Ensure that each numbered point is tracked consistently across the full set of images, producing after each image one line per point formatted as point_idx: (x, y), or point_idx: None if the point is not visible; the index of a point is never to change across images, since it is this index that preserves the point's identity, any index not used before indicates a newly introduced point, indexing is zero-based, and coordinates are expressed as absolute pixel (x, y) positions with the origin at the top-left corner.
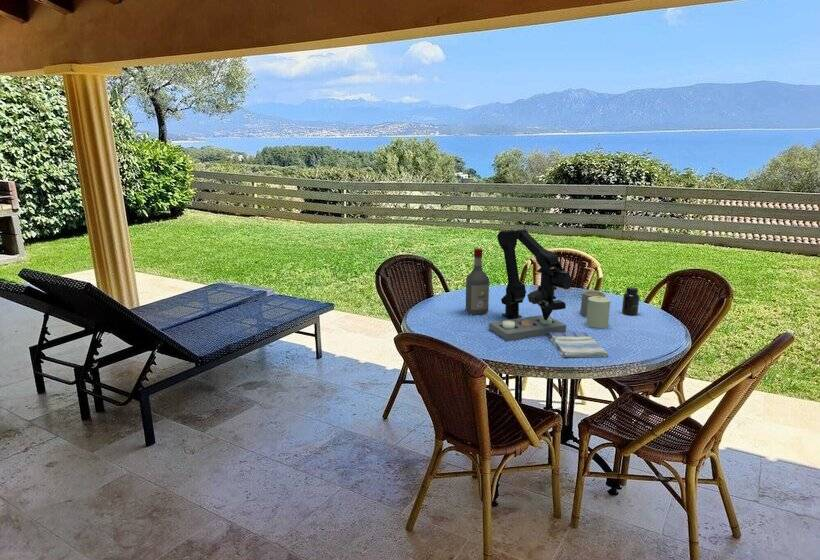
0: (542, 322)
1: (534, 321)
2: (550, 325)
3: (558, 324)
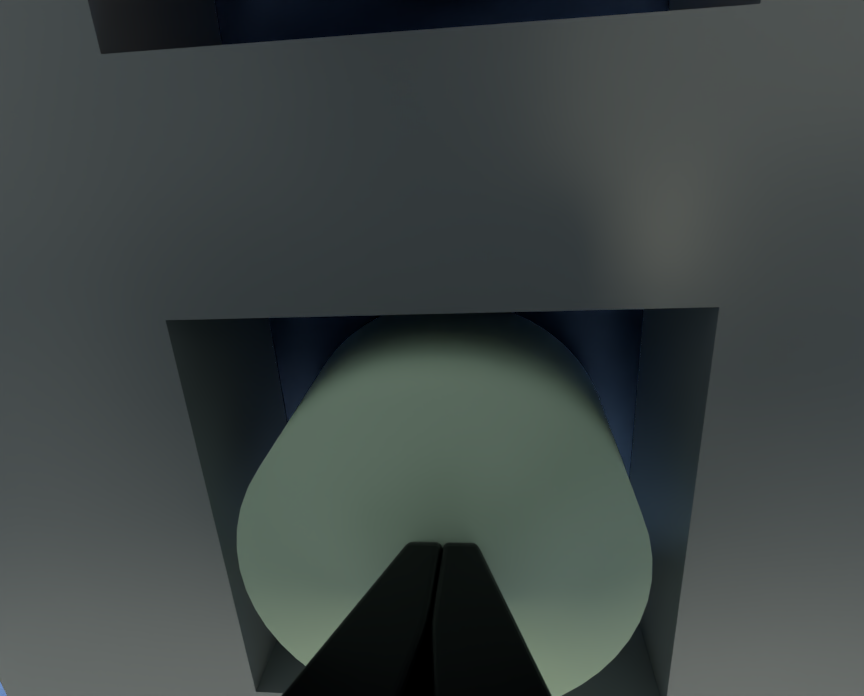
0: (346, 383)
1: (565, 170)
2: (28, 447)
3: (93, 654)
